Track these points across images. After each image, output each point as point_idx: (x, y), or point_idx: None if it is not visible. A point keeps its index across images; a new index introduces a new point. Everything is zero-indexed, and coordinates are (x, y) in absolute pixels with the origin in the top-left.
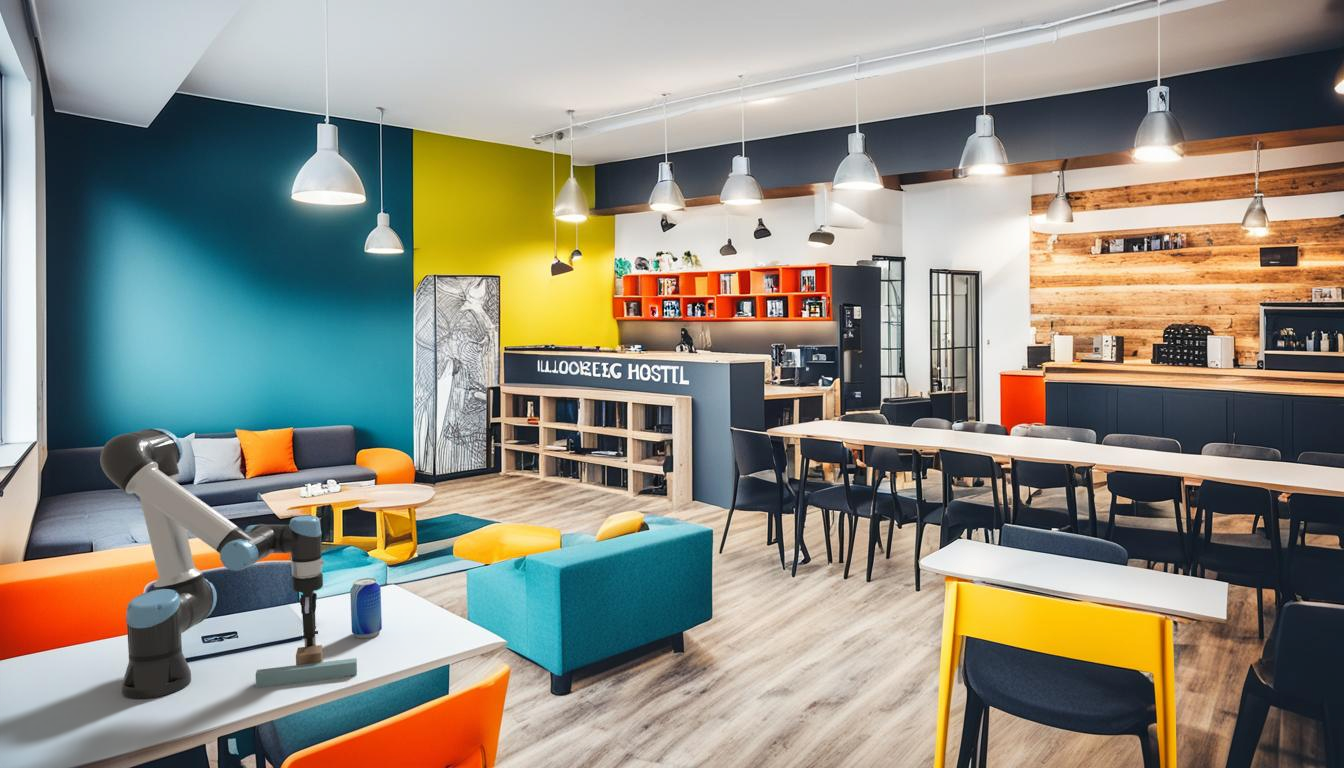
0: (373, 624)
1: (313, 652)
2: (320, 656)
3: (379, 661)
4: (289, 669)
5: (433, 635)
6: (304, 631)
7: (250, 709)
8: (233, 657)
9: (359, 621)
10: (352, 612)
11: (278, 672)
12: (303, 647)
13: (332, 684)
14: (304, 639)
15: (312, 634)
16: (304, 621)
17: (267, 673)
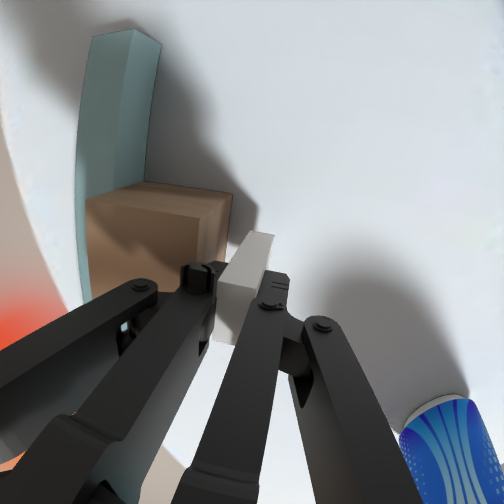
0: None
1: (103, 282)
2: None
3: (199, 411)
4: (81, 163)
5: (312, 492)
6: (92, 307)
7: (15, 79)
8: (484, 7)
9: (426, 450)
10: (462, 457)
11: (80, 121)
12: (187, 249)
13: (74, 280)
14: (220, 276)
15: (121, 336)
16: (18, 354)
17: (85, 79)
